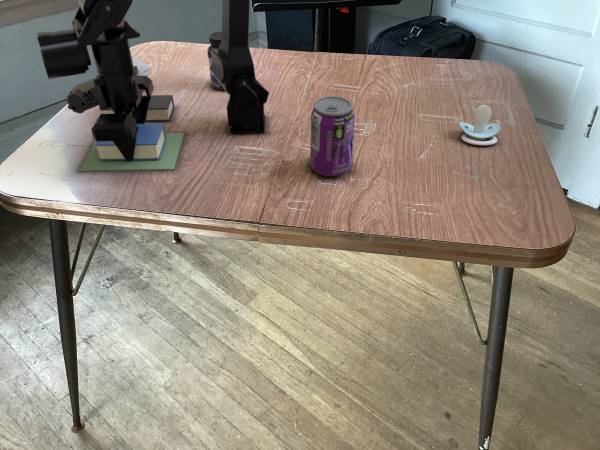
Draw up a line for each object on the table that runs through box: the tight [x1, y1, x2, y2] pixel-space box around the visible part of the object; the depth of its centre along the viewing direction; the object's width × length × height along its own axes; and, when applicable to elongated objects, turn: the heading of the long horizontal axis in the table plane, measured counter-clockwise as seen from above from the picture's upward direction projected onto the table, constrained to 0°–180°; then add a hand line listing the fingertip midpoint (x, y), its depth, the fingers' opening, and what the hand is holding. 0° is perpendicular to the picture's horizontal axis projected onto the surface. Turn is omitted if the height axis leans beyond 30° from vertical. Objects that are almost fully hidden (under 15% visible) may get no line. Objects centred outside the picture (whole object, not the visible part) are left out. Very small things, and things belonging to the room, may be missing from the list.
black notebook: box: [101, 94, 175, 122], centre depth 108 cm, size 13×6×3 cm, turn 91°
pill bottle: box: [206, 30, 226, 91], centre depth 115 cm, size 6×6×11 cm
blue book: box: [95, 123, 166, 160], centre depth 97 cm, size 10×7×3 cm, turn 91°
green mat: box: [80, 132, 185, 172], centre depth 98 cm, size 16×12×1 cm
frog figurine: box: [132, 56, 151, 78], centre depth 116 cm, size 6×7×7 cm
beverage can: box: [309, 95, 356, 177], centre depth 90 cm, size 7×7×12 cm
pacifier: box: [459, 104, 501, 146], centre depth 99 cm, size 7×6×6 cm
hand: (134, 149), depth 98 cm, fingers closed on blue book, 7 cm apart
